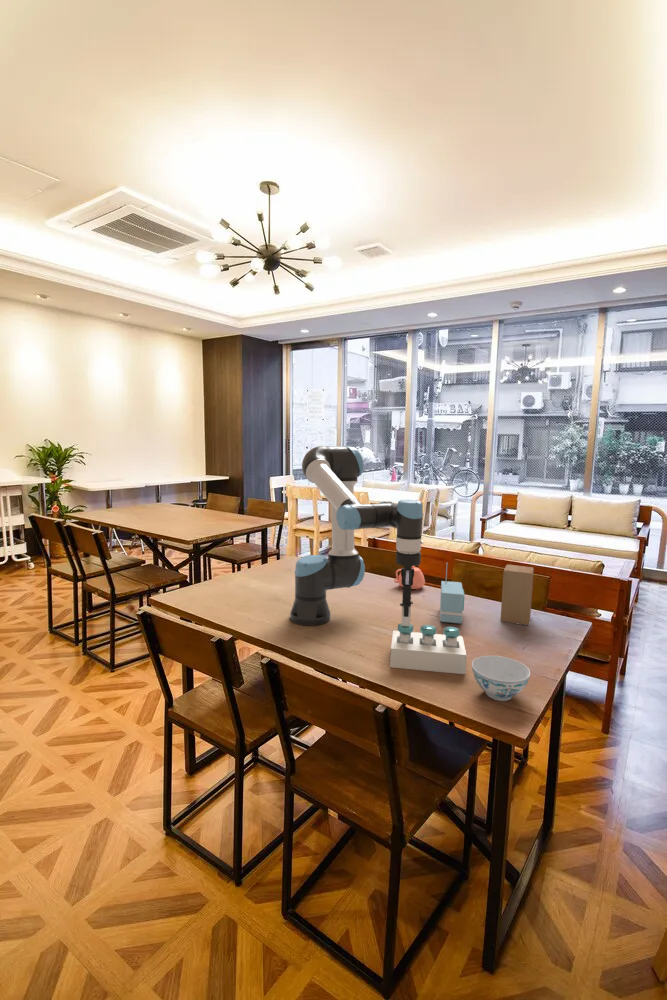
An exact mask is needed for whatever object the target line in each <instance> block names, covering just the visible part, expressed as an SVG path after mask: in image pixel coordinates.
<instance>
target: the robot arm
mask: <svg viewBox="0 0 667 1000" xmlns="http://www.w3.org/2000/svg"><path fill="white" fill-rule="evenodd" d="M301 471H302V474H303V475H304V477H305V479H306V480H307V481H309V482H310V483H311V484H314V485H315V487H316V488H318V490H319V491H320V492H321V493H322V495H323V496H324V497H325V499H326V500H327V501H328V502H329V503H330V505H331V506H330V507H331V549H330V550H329V551H328V554H327V556H328V557H326V556H325V555H322V554H316V555H315V554H311V555H307V556H303V557H301V558H299V559H298V560H297V561H296V562H295V568H294V569H295V570H294V583H295V585H294V587H295V588H294V601H293V603H292V607H291V608H290V609H291V610H290V613H289V614H290V618H289V619H290V621H292V623H295V624H297V625H301V626H320V625H324V624H326V623H328V622H329V621H330V620H331V610H330V607H329V603H328V600H327V591H328V590H335V589H343V588H347V589H349V588H351V587H356V586H358V585H360V584H361V582H362V581H363V579H364V577H365V574H366V573H365V572H366V566H365V563H364V559H363V558H362V556H360V555H359V551H357V549H356V548H355V530H360V529H363V530H364V529H375V528H376V529H377V528H387V527H388V528H389V527H391V528H393V529H396V537H395V538H396V539H395V544H396V545H395V549H396V550H397V551H395V563H396V564H397V565H399V566H403V567H402V568H400V569H401V571H400V573H401V576H402V585H403V587H402V600H401V601H402V603H399V606H400V607H401V621H400V622H401V626H410V624H411V616H412V615H411V614H412V613H411V610H412V609H411V608H412V605H414V601H412V597H411V596H412V589H411V586H412V585H413V577H414V569H412V566H415V567H416V566H419V565H421V563H422V562H421V561H422V559H421V558H422V553H421V550H422V545H424V541H423V540H422V534H423V533H422V532H423V531H422V530H423V518H424V512H423V508H424V507H423V506H424V505H423V502H421V501H420V500H416V499H401V500H398V503H395V502H392V501H380V502H378V503H361V501H360V500H359V499H357V497H356V496H355V494H354V492H355V490H354V487H355V485H356V484H357V483H358V477H361V476H362V475H363V471H364V459H363V457H362V453H361V452H360V450H358V448H356V447H354V446H350V445H349V446H348V445H347V446H346V445H342V446H341V445H340V446H339V445H338V446H336V445H335V446H334V445H333V446H332V445H328V446H326V445H320V446H315V447H313V448H310V449H309V450H308V451H307V452H306V453H305V455H304V456H303V459H302V462H301Z"/></svg>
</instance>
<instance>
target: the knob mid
mask: <svg viewBox="0 0 667 1000" xmlns="http://www.w3.org/2000/svg"><path fill="white" fill-rule="evenodd" d="M419 630H420V632H419V633H422V634H423V636H422V645H429V646H433V641H434V635H435V634H437V627H436V626H435V625H432V624H423V625H421V626H420V628H419Z"/></svg>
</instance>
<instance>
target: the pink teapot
mask: <svg viewBox="0 0 667 1000" xmlns="http://www.w3.org/2000/svg"><path fill="white" fill-rule="evenodd" d="M401 569H402V568H398V569H397V570H396V571H395V576H396V578H394V580H393V581H394V583H397V584H398V585H399V586H400V587H401V588H403V585H402V576H401ZM412 569H414V577H413V585H412V586H411V590H417V589H418V590H420V589H422V588H423V587H424V586H425V584H426V580H425V576H424V573H423V571H422V570H421V569H420V568H419V567H416V566H412ZM399 572H400V573H399ZM398 573H399V575H398ZM421 587H422V588H421Z"/></svg>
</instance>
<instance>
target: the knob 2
mask: <svg viewBox="0 0 667 1000" xmlns="http://www.w3.org/2000/svg"><path fill="white" fill-rule="evenodd" d="M460 632H461V631H460V628H458V627H455V626H446V627H444V628H443V635H446V640H445V647H452V648H456V647H457V637H458V636H461V635H460Z"/></svg>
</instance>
